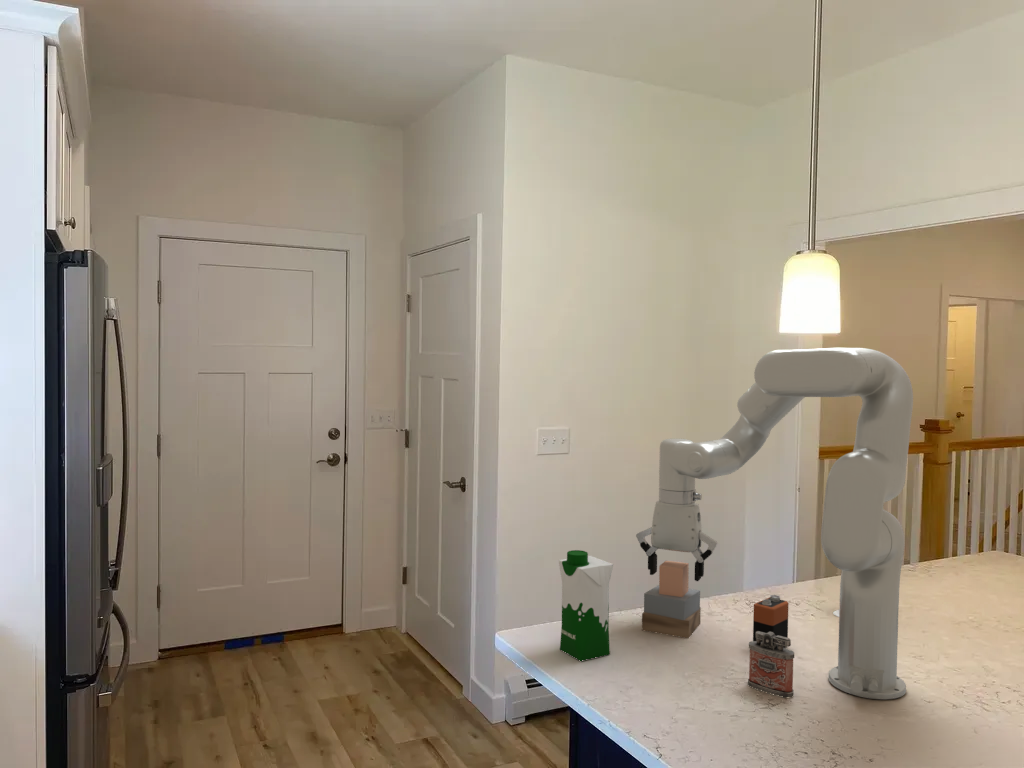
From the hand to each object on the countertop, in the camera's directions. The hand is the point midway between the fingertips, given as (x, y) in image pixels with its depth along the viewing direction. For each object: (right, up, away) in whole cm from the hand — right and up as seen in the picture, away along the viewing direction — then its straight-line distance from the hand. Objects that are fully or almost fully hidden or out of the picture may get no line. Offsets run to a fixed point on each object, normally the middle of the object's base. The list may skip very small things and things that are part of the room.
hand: (675, 576), depth 167 cm
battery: (+17, -12, -10) cm, 23 cm away
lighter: (+10, -13, -30) cm, 34 cm away
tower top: (0, -8, +1) cm, 8 cm away
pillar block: (0, -4, 0) cm, 4 cm away
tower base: (-1, -12, +1) cm, 12 cm away
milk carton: (-21, -12, -14) cm, 27 cm away
